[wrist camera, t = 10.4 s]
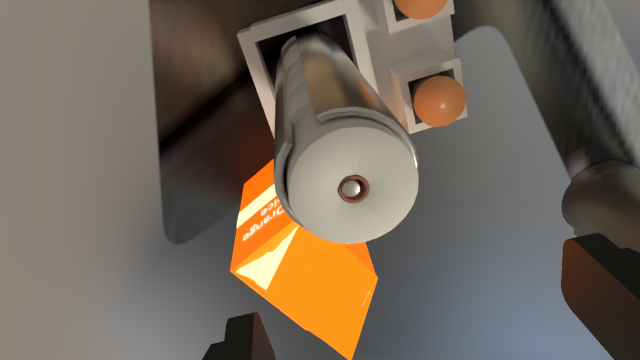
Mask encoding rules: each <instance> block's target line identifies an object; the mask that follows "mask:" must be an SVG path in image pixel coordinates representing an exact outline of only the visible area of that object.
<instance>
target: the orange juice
mask: <svg viewBox="0 0 640 360" xmlns="http://www.w3.org/2000/svg"><path fill="white" fill-rule="evenodd" d="M273 170H274V159H273V160H272V161H271V162H269V163H268V164H267V165H266V166H265V167H264V168H262V169H261V170H260V171H259V172H258V173H257V174H255V175H254V176H253V177H252V178H251V179H250V180H248V181H247V182H246V183H245V184H244V188H243V195H242V201H241V207H240V213H239V216H238V222H237V232H236V238H235V244H234V251H233V258H232V263H231V270H230V271H231V272H232V273H233V274H234V275H236V276H237V277H238V278H239V279H241V280H242V281H243V282H245V283H246V284H247V285H249V286H250V287H251V288H252V289H254V290H255V291H256V292H257V293H259V294H260V295H261V296H263V297H264V298H265V299H266V300H268V301H269V302H270V303H272V304H273V305H274V306H276V307H277V308H278V309H279V310H281V311H282V312H283V313H284V314H286V315H287V316H289V317H290V318H291V319H292V320H293V321H295V322H296V323H297V324H299V325H300V326H301V327H302V328H304V329H305V330H306V331H307V330H309V331H310V332H312V333H313V334H315V335H316V336H318V337H319V338H321V339H322V340H324V341H325V342H326V343H328V344H329V345H330V346H331V347H333V348H334V349H335V350H337V351H338V352H339V353H340V354H342V355H343V356H344V357H345V358H347V359H348V360H352V356H353V353H354V350H355V347H356V344H357V341H358V338H359V335H360V332H361V328H362V326H363V323H364V319H365V316H366V313H367V310H368V307H369V304H370V301H371V298H372V295H373V292H374V289H375V285H376V282H377V279H378V277H377V276H376V275H375V272H374V269H373V266H372V262H371V260H370V256H369V253H368V250H367V247H366V243H365V242H361V243H353V244H343V243H333V242H330V241H327V240H324V239H322V238H319V237H317V236H315V235H314V234H312V233H311V232H308V231H307V230H305V229H304V228H302V227H301V226H299V225H298V224H296V223H295V222H294V221H293V220H292V219H291V218H290V217H289V216H288V214H287V213H286V212H285V211H284V210H283V208H282V206H281V204H280V202H279V199H278V197H277V195H276V193H275V185H274V177H273Z"/></svg>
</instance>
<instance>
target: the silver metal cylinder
mask: <svg viewBox="0 0 640 360" xmlns="http://www.w3.org/2000/svg"><path fill="white" fill-rule="evenodd" d="M273 177H274V185H275V193H276V195H277V197H278V199H279V202H280V204H281V206H282V208H283V210H284V211H285V212H286V213H287V214H288V216H289V217H290V218H291V219H292V220H293V221H294V222H295V223H296V224H298V225H299V226H301V227H302V228H304V229H305V230H307V231H308V232H311V233H312V234H314V235H315V236H317V237H319V238H322V239H324V240H327V241H330V242H333V243H343V244H353V243H361V242H366V241H369V240H372V239H375V238H378V237H380V236H382V235H383V234H385V233H387V232H389V231H390V230H392V229H393V228H394V227H395V226H396V225H397V224H399V222H400V221H402V219H404V217H405V216H406V215H407V213H408V212H409V210H410V209H411V208H412V206H413V205H414V201H415V198H416V195H417V192H418V178H419V159H418V155H417V151H416V148H415V144H414V143H413V141H412V139H411V138H410V136H409V134H408V133H407V131H406V129H405V128H404V127H403V126H402V124H401V123H400V122H399V121H398V119H397V118H396V117H395V116H394V114H393V113H392V112H391V110H390V109H389V108H388V107H387V105H386V104H385V103H384V102H383V100H382V99H381V98H380V97H379V95H378V94H377V93H376V92H375V90H374V89H373V88H372V87H371V85H370V84H369V83H368V81H367V80H366V79H365V78H364V76H363V75H362V74H361V73H360V71H359V70H358V69H357V68H356V66H355V65H354V64H353V63H352V61H351V60H350V59H349V57H348V56H347V55H346V54H345V52H344V51H343V50H342V49H341V47H340V46H339V45H338V44H337V43H336V42H335V41H334V40H333V39H332V38H331V37H329V36H327V35H325V34H323V33H320V32H315V31H308V32H302V33H299V34H297V35H294V36H293V37H292V38H290V39H289V40H287V42H286V43H285V44H284V45H283V47H282V48H281V50H280V53H279V55H278V58H277V65H276V98H275V134H274V170H273Z"/></svg>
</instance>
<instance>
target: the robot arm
mask: <svg viewBox="0 0 640 360" xmlns="http://www.w3.org/2000/svg"><path fill="white" fill-rule="evenodd" d="M562 213H563V217H564V219H565V220H566V221H567V223H568V224H569V225H571V226H572V227H573V228H574V234H575V235H576V236H577V237H576V238H571V239H567V240H566V241H565V242H564V245H563V258H562V259H563V260H562V276H561V289H562V293H563V296H564V299H565V301H566V303H567V304H568V306H569V308H570V309H571V310H572V311H573V313H574V314H575V315H576V316H577V317H578V318H579V319H580V321H581V322H582V323H583V324H584V325H585V326H586V327H587V329H588V330H589V331H590V332H591V333H592V335H593V336H594V337H595V338H596V339H597V340H598V341H599V343H600V344H601V345H602V346H603V347H604V348H605V349H606V351H607V352H608V353H609V354H610V355H611V357H612V358H613V359H614V360H640V170H639V169H637V168H635V167H633V166H632V165H630V164H628V163H626V162H622V161H605V162H601V163H598V164H595V165H593V166H591V167H589V168H587V169H586V170H584V171H583V172H582V173H580V174H579V175H578V176H577V177H576V178H575V179H574V180H573V181H572V182H571V184H570V185H569V187H568V188H567V190H566V192H565V194H564V196H563V200H562ZM202 360H276V359H275V355H274V351H273V349H272V346H271V344H270V341H269V339H268V336H267V333H266V331H265V328H264V326H263V323H262V320H261V318H260V316H259V314H258V313H257V312H254V313H250V314H245V315H242V316H237V317H233V318H229V319H228V321H227V325H226V331H225V339H224V341H223V342H219V343H214V344H211V346H210V347H209V349H208V350H207V352H206V354H205V356H204V357H203V359H202Z"/></svg>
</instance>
